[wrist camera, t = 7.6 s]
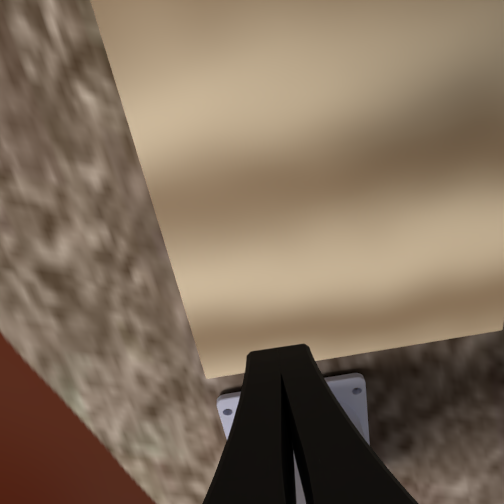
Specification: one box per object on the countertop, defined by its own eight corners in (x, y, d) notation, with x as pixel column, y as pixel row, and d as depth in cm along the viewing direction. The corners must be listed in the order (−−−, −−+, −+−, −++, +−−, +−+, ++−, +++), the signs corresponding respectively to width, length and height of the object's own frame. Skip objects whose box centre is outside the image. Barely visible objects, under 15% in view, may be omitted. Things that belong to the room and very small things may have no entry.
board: (470, 290, 23) (502, 330, 20) (208, 334, 23) (206, 379, 21) (504, -120, 15) (563, -140, 12) (101, -39, 15) (77, -42, 13)
